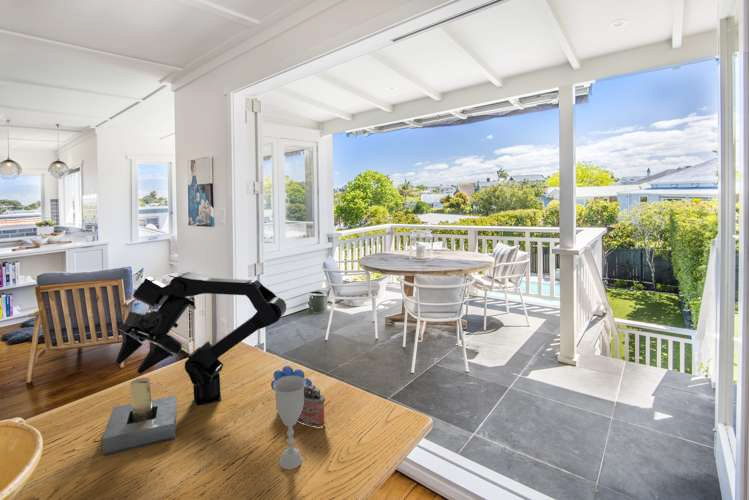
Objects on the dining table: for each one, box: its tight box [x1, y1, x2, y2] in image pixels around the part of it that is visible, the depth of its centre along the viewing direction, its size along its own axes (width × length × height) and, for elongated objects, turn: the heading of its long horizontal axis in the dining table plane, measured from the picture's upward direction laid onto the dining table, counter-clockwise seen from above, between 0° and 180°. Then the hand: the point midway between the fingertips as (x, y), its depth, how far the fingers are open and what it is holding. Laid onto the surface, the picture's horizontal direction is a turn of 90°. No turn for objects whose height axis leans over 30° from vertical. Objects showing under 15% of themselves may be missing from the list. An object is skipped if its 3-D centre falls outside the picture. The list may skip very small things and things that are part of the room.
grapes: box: [270, 365, 313, 392], centre depth 102 cm, size 12×7×12 cm, turn 87°
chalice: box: [273, 376, 306, 470], centre depth 81 cm, size 7×7×18 cm
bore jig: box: [101, 395, 178, 456], centre depth 92 cm, size 14×14×4 cm
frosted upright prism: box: [129, 377, 153, 423], centre depth 91 cm, size 4×4×12 cm
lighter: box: [298, 384, 326, 427], centre depth 96 cm, size 8×3×10 cm, turn 65°
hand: (127, 368), depth 94 cm, fingers open, 9 cm apart
